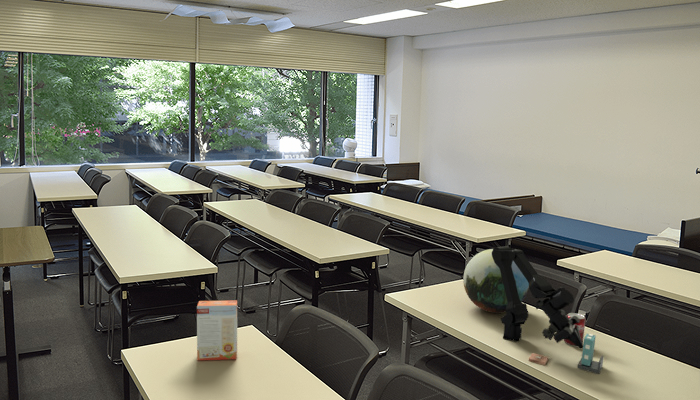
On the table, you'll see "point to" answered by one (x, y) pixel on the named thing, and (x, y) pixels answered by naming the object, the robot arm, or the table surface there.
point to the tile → (538, 358)
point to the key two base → (592, 366)
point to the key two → (588, 349)
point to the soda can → (580, 326)
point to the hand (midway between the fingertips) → (581, 347)
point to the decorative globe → (490, 283)
